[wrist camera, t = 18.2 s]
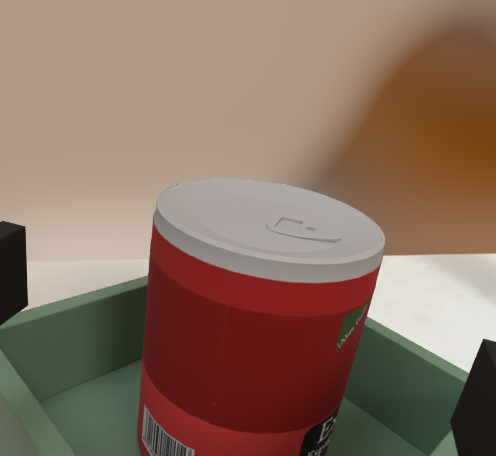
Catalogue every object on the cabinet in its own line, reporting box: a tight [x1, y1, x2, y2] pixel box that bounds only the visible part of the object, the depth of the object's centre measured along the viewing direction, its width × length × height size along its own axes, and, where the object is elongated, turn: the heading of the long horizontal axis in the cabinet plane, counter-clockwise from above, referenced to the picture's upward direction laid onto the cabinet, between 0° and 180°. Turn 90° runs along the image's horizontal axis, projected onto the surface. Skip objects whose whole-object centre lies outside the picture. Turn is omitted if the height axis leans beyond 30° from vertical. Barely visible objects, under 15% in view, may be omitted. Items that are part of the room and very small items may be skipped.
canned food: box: [137, 178, 385, 456], centre depth 18 cm, size 8×8×11 cm
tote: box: [0, 276, 469, 456], centre depth 19 cm, size 16×16×5 cm
